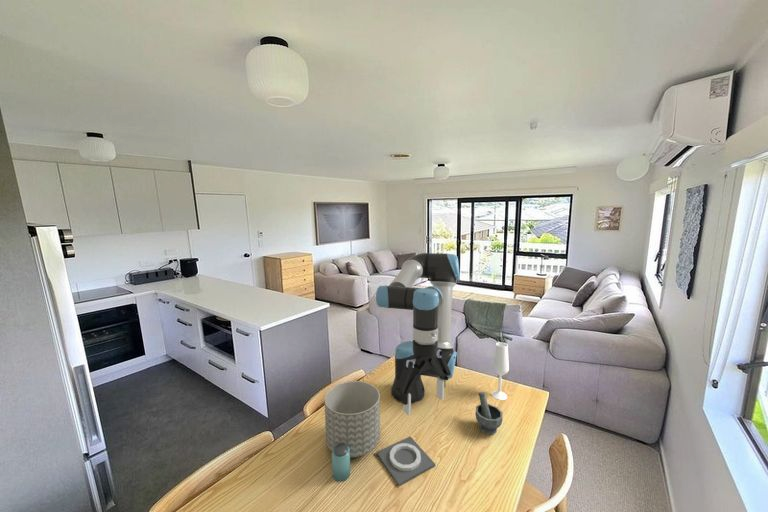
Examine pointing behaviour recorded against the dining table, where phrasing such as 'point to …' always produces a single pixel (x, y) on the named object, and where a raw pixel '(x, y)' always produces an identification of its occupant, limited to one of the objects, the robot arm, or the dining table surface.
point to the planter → (353, 417)
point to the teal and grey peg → (341, 462)
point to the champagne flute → (500, 367)
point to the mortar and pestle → (488, 415)
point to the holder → (405, 460)
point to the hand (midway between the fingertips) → (424, 404)
